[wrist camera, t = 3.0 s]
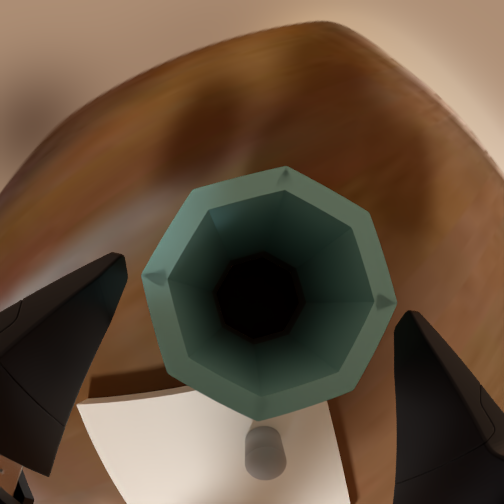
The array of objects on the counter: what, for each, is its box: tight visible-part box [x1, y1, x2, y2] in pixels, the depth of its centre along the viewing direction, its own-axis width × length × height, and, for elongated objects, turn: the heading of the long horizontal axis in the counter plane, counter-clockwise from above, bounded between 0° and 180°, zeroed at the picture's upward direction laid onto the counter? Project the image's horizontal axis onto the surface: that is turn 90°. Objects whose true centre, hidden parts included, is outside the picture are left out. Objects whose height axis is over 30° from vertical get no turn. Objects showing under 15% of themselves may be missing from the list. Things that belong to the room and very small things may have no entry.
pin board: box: [77, 386, 350, 504], centre depth 11 cm, size 15×15×5 cm
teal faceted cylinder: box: [141, 166, 397, 421], centre depth 11 cm, size 6×6×10 cm
